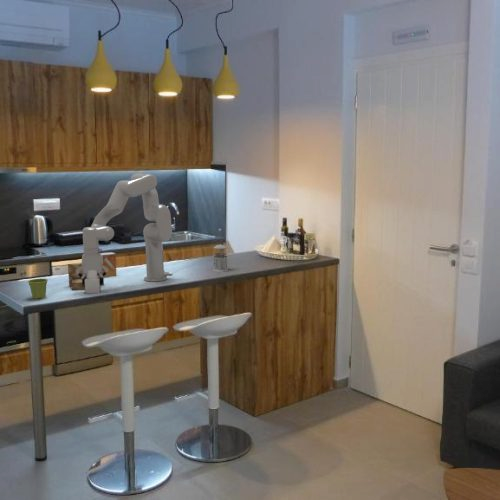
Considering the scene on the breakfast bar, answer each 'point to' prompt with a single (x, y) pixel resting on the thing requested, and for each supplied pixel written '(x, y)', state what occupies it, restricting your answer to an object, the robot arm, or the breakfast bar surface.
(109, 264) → the small box
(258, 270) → the breakfast bar surface
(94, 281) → the medicine bottle
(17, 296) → the breakfast bar surface
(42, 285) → the plant pot
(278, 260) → the breakfast bar surface
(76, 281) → the wooden crate
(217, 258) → the french press
